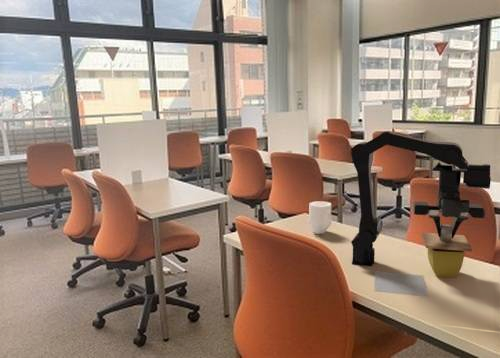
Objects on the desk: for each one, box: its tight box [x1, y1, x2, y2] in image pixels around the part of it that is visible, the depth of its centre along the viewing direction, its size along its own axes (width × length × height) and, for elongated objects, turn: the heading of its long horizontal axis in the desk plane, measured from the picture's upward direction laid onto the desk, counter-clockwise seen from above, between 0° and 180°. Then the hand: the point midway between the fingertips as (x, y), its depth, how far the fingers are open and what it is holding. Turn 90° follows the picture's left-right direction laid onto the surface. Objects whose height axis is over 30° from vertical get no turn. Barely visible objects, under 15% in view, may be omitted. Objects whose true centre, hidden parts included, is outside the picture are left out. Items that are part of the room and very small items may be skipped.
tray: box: [374, 270, 429, 297], centre depth 120 cm, size 14×14×1 cm
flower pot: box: [426, 248, 466, 278], centre depth 125 cm, size 9×9×9 cm
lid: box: [421, 224, 473, 252], centre depth 123 cm, size 12×12×5 cm
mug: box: [308, 200, 333, 235], centre depth 167 cm, size 12×9×12 cm
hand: (445, 237), depth 123 cm, fingers closed on lid, 3 cm apart
